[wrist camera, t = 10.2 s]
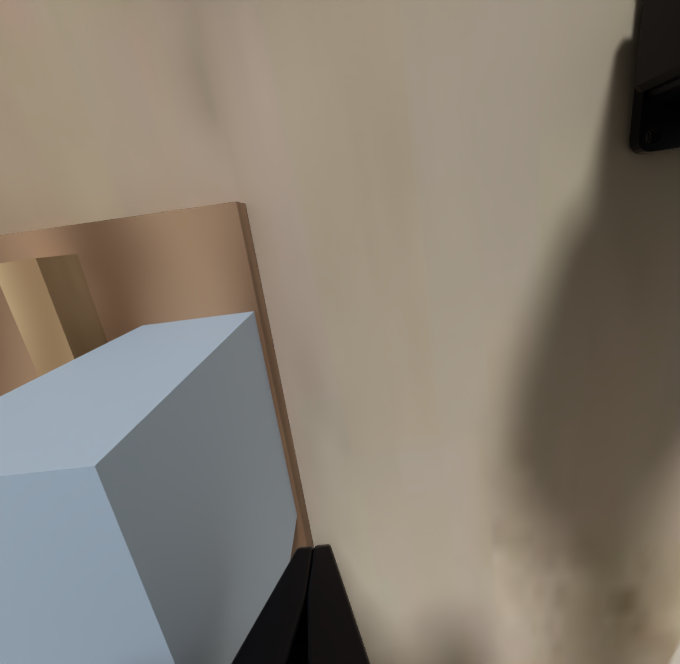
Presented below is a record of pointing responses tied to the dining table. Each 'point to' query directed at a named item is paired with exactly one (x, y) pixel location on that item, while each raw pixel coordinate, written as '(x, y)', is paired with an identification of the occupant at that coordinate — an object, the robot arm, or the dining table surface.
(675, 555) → the dining table surface
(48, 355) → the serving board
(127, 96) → the dining table surface
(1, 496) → the blue block
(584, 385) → the dining table surface
